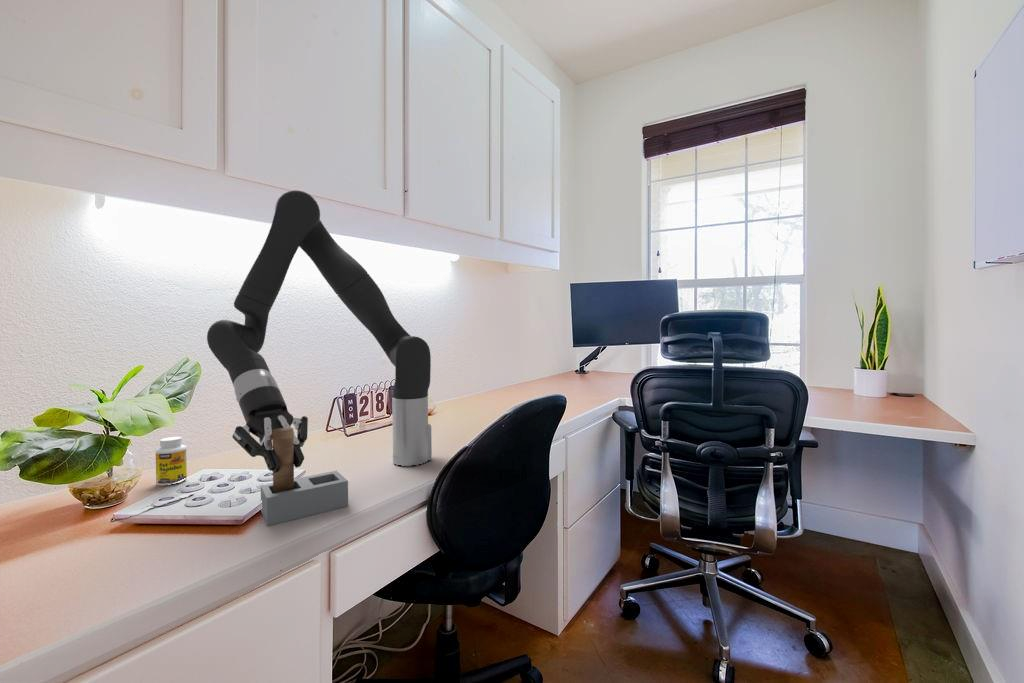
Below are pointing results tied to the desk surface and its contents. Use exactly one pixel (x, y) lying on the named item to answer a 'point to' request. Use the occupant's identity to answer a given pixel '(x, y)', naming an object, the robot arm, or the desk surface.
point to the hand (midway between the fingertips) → (288, 467)
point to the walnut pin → (284, 459)
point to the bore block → (304, 497)
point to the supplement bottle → (171, 461)
